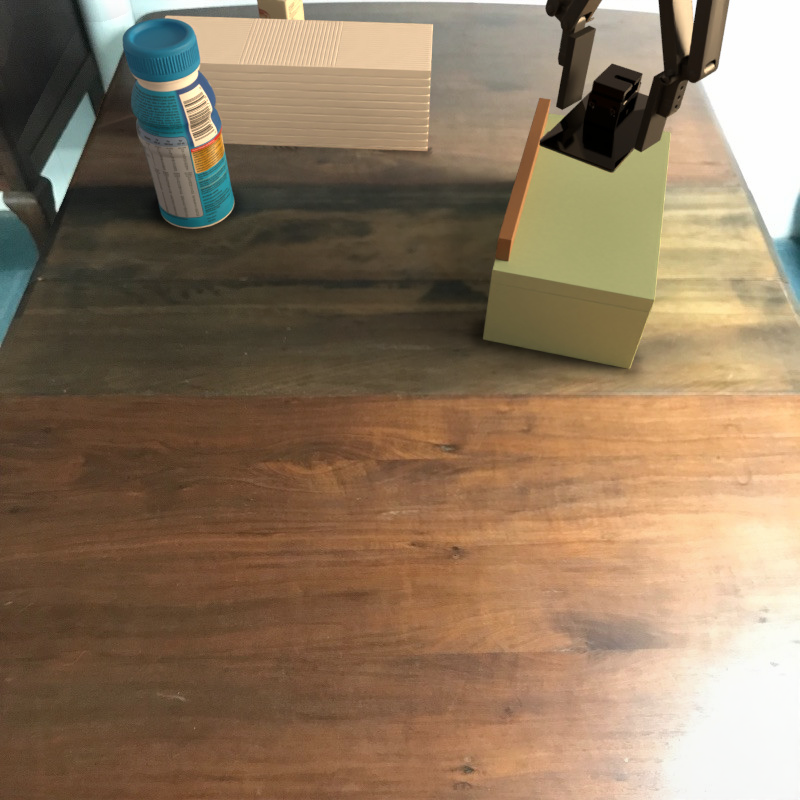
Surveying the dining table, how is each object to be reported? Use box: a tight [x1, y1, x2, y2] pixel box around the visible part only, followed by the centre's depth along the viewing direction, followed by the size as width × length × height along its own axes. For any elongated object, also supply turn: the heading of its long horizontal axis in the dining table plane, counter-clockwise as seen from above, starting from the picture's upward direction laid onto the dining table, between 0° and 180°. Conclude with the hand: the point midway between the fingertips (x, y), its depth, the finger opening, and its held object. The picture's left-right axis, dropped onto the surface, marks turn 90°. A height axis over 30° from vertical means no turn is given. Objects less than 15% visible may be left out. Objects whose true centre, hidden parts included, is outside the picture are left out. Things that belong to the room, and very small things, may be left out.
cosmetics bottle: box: [256, 0, 305, 20], centre depth 105 cm, size 5×4×10 cm
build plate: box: [539, 63, 649, 173], centre depth 68 cm, size 12×7×5 cm, turn 145°
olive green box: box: [482, 97, 672, 370], centre depth 79 cm, size 14×26×12 cm, turn 165°
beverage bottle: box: [122, 17, 235, 230], centre depth 81 cm, size 8×8×20 cm
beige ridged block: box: [164, 15, 434, 152], centre depth 95 cm, size 32×11×11 cm, turn 87°
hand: (606, 122), depth 70 cm, fingers closed on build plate, 8 cm apart
